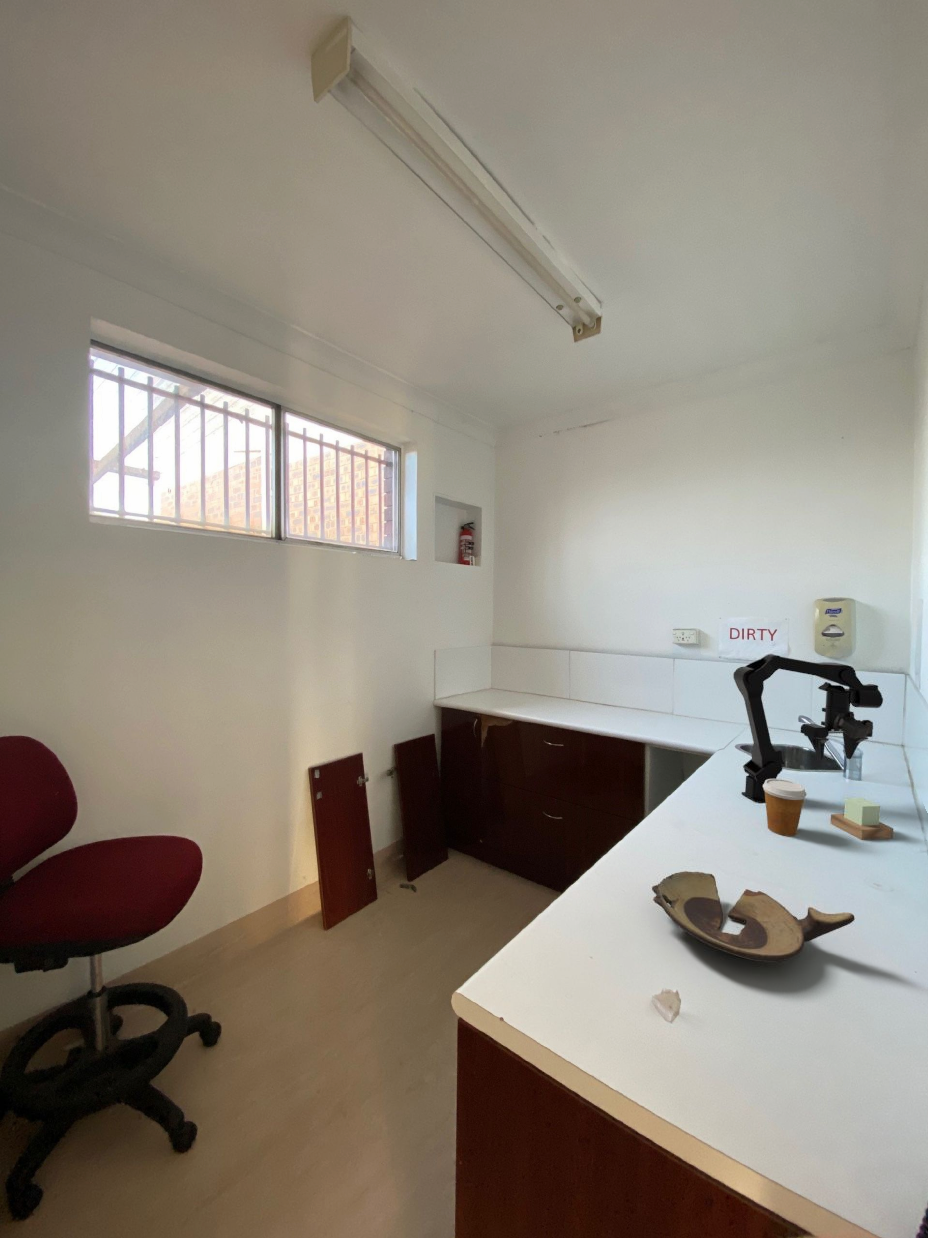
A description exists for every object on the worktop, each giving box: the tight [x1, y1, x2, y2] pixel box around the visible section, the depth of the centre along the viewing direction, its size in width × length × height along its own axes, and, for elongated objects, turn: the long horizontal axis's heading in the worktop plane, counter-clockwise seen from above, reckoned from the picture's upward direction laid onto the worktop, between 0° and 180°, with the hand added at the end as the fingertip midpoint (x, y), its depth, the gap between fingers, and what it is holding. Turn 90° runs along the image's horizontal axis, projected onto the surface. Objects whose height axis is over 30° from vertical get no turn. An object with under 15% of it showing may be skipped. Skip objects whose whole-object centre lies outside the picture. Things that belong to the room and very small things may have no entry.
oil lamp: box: [651, 870, 856, 963], centre depth 88 cm, size 22×30×8 cm
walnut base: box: [830, 813, 894, 841], centre depth 131 cm, size 9×9×2 cm
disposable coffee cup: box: [763, 778, 808, 837], centre depth 130 cm, size 10×10×12 cm
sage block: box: [843, 797, 881, 826], centre depth 131 cm, size 5×5×5 cm
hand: (834, 759), depth 148 cm, fingers open, 9 cm apart
